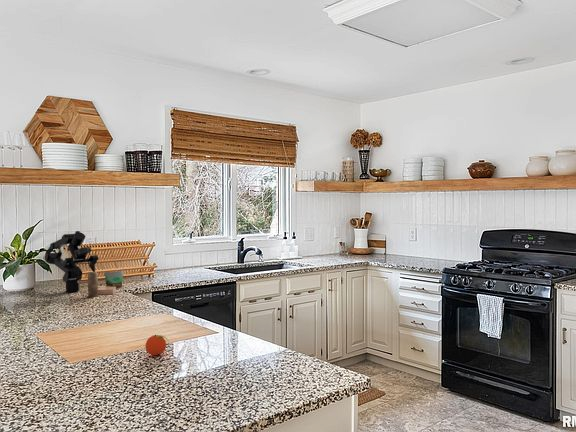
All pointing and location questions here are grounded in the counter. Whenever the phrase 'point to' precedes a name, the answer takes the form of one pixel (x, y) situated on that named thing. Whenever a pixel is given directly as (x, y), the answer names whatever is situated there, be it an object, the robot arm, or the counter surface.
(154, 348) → the tomato
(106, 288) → the terracotta base
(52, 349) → the counter surface
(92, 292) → the walnut cylinder
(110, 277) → the food container
